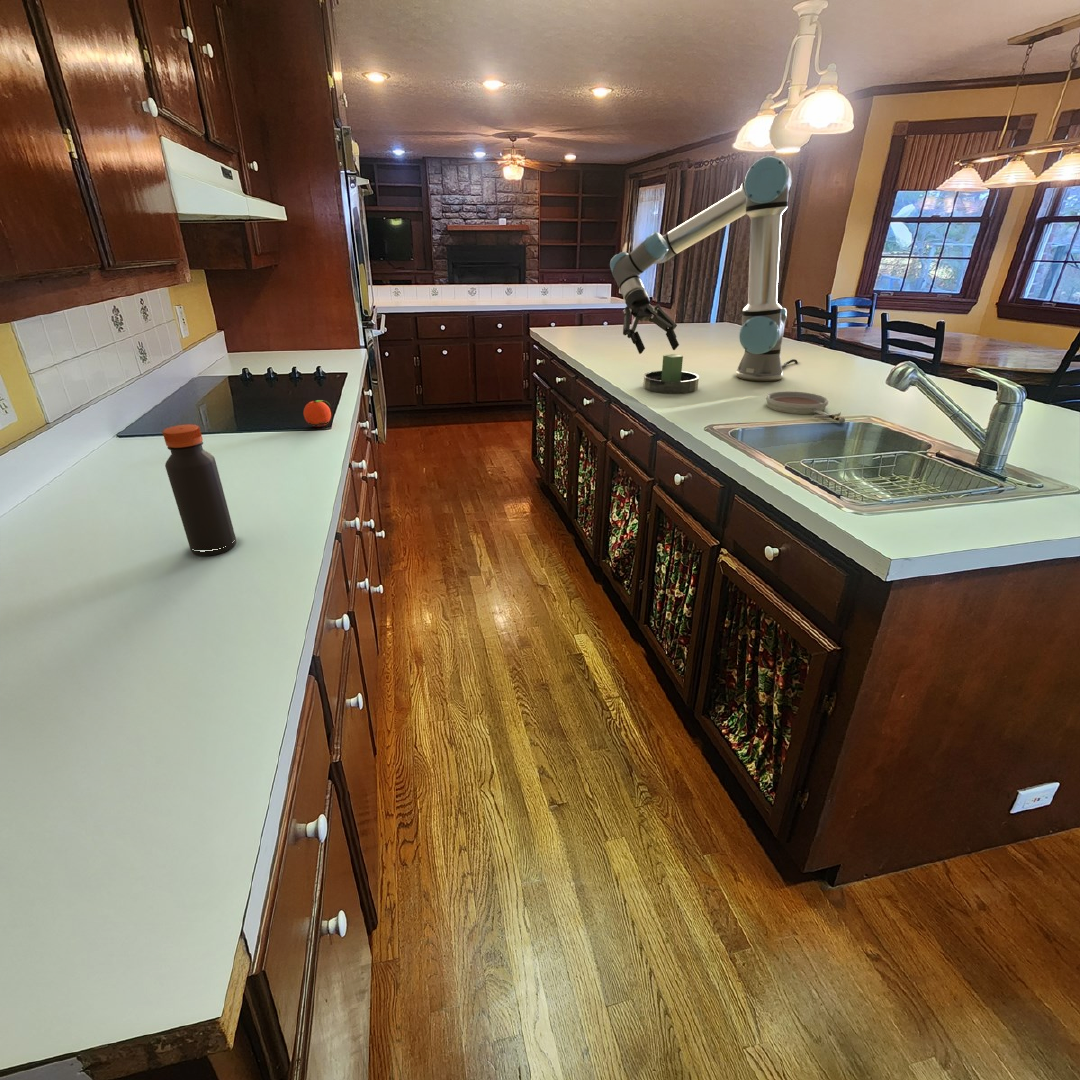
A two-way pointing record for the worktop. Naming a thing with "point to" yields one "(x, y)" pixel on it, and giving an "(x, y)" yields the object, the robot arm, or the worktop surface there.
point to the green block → (672, 367)
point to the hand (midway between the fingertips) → (659, 349)
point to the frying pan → (801, 404)
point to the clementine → (317, 413)
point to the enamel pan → (671, 383)
